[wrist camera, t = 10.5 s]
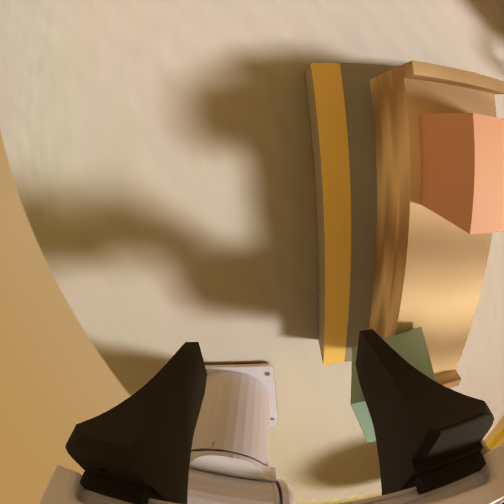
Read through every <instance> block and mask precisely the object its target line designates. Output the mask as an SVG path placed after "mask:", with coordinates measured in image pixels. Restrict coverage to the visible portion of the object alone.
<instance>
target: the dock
mask: <svg viewBox="0 0 504 504" xmlns="http://www.w3.org/2000/svg"><path fill="white" fill-rule="evenodd" d="M394 68H396V67H395V66H384V65H371V64H350V63H311V64H310V65H309V67H308V69H307V70H306V72H305V81H306V90H307V98H308V107H309V117H310V127H311V137H312V149H313V161H314V175H315V191H316V209H317V231H318V266H319V345H320V350H321V355H322V360H323V365H327V364H335V363H344V362H346V361H352V347H355V346H358V341H359V332H360V331H362V330H369V324H370V316H371V307H372V297H373V286H374V273H375V257H376V234H377V167H376V145H375V129H374V117H373V106H372V96H371V88H370V79H372V78H375V77H377V76H379V75H381V74H383V73H385V72H387V71H390V70H392V69H394Z"/></svg>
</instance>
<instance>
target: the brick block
mask: <svg viewBox="0 0 504 504" xmlns="http://www.w3.org/2000/svg"><path fill="white" fill-rule="evenodd" d="M419 128H420V148H421V203H420V205H422V206H424V207H426V208H427V209H429V210H431V211H433V212H434V213H436V214H438V215H439V216H441V217H443V218H444V219H446V220H448V221H449V222H451V223H453V224H454V225H456V226H457V227H459V228H461V229H462V230H464V231H465V232H467V233H469V234H481V233H493V232H504V119H501V118H497V117H492V116H486V115H481V114H475V113H440V114H419Z"/></svg>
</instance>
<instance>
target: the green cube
mask: <svg viewBox="0 0 504 504" xmlns="http://www.w3.org/2000/svg"><path fill="white" fill-rule="evenodd" d="M383 340H384V341H385V342H386V343H387V344H388V345H389V346H390V347H391V348H392V349H393V350H395V351H396V352H397V353H398V354H399V355H400V356H401V357H402V358H403V359H405V360H406V361H407V362H408V363H409V364H411V365H412V366H413V367H415V368H416V369H417V370H419V371H420V372H421V373H423V374H425V375H426V376H428V377H429V378H431V379H432V380H434V381H436V380H435V376H434V372H433V368H432V364H431V360H430V356H429V352H428V348H427V345H426V341H425V338H424V334H423V331H422V327H418V328H415V329H412V330H409V331H406V332H403V333H400V334H397V335H393V336H390V337H387V338H383ZM357 349H358V346H355V347H352V381H351V406H352V408H353V411H354V413H355V415H356V417H357V420H358V422H359V424H360V426H361V429H362V431H363V433H364V436H365V438H366V440H367V442H368V443H369V442H374V441H376V437H375V432H374V427H373V423H372V419H371V416H370V413H369V410H368V407H367V404H366V401H365V398H364V395H363V392H362V389H361V386H360V383H359V379H358V374H357V369H356V357H357Z"/></svg>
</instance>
